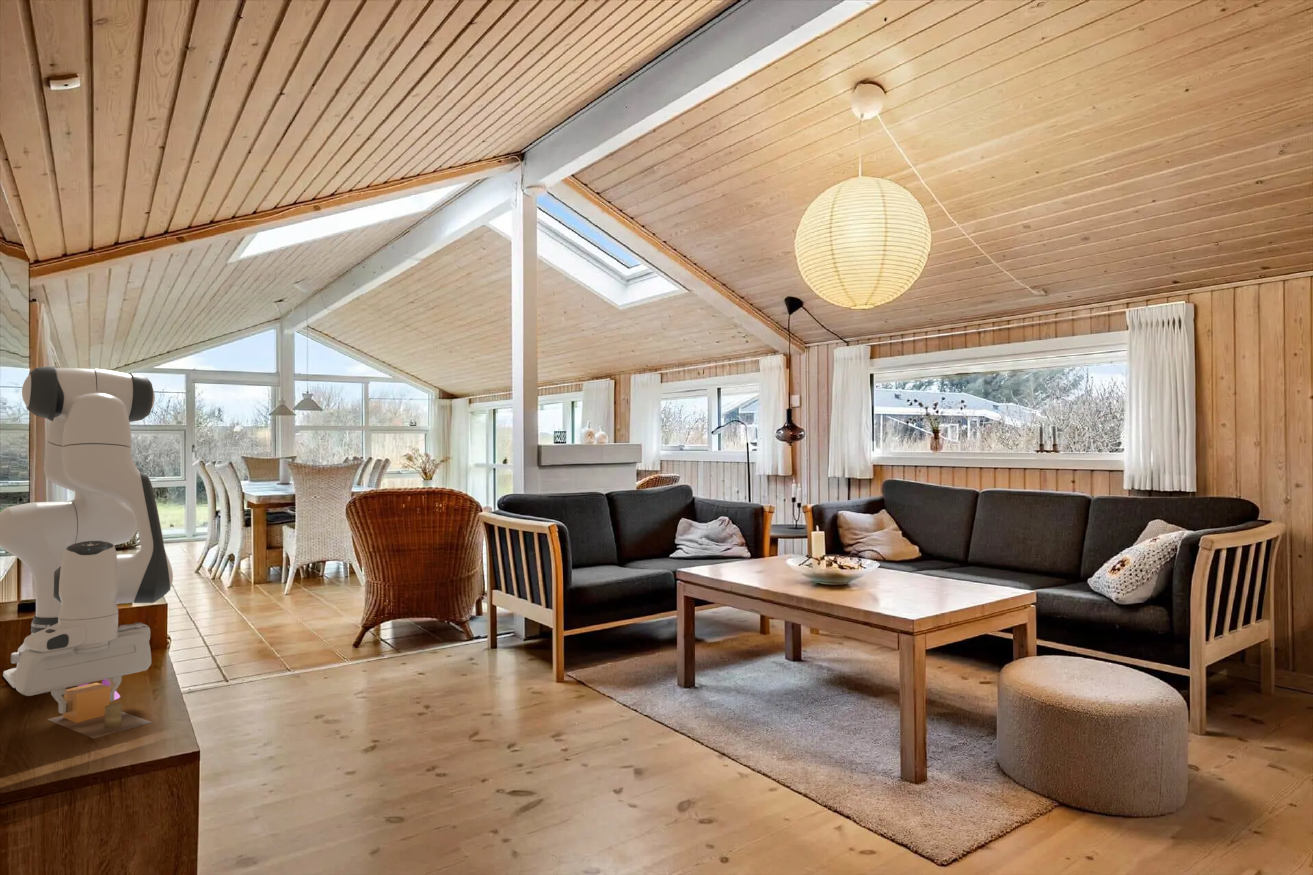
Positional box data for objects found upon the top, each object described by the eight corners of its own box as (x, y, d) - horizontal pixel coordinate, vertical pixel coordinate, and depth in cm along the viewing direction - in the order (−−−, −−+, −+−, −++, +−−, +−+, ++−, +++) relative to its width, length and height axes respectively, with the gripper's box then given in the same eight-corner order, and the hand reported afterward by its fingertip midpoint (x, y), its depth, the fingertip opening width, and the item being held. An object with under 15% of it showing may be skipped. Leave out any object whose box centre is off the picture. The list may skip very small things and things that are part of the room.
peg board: (46, 726, 135) (47, 699, 135) (104, 711, 143) (104, 686, 143) (93, 745, 126) (94, 717, 126) (152, 729, 133) (152, 702, 134)
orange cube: (63, 717, 136) (63, 689, 136) (96, 709, 140) (96, 682, 140) (76, 722, 133) (77, 694, 133) (109, 714, 138) (110, 686, 138)
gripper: (142, 618, 148) (140, 689, 147) (12, 640, 130) (10, 720, 130) (158, 622, 145) (157, 694, 144) (28, 644, 127) (26, 727, 127)
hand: (86, 707), depth 137 cm, fingers closed on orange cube, 5 cm apart
